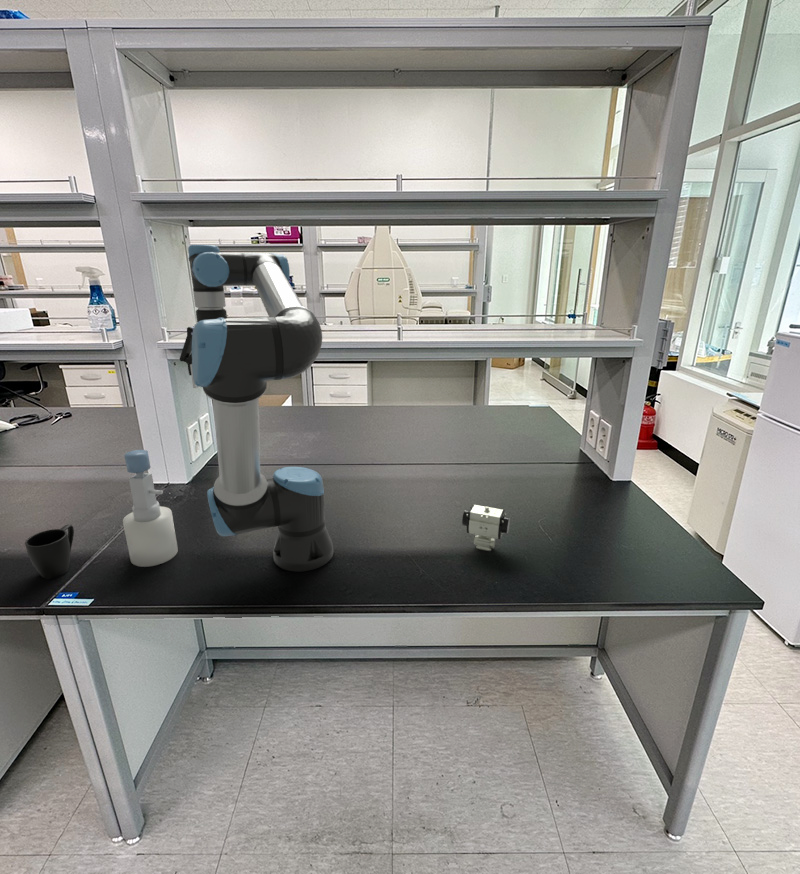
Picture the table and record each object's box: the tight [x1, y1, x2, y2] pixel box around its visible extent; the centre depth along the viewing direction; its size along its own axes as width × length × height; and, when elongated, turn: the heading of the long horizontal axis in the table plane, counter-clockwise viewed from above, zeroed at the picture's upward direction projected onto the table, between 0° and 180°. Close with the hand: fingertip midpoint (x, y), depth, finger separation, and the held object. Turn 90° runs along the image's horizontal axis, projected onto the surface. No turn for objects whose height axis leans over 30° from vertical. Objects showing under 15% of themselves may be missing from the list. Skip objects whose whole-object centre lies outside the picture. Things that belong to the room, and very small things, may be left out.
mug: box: [24, 524, 75, 580], centre depth 118 cm, size 8×12×10 cm
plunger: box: [123, 449, 151, 479], centre depth 118 cm, size 5×5×13 cm
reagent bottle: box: [122, 472, 179, 568], centre depth 122 cm, size 11×11×22 cm
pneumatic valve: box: [461, 504, 511, 552], centre depth 127 cm, size 6×12×12 cm, turn 69°
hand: (220, 388), depth 134 cm, fingers open, 13 cm apart
